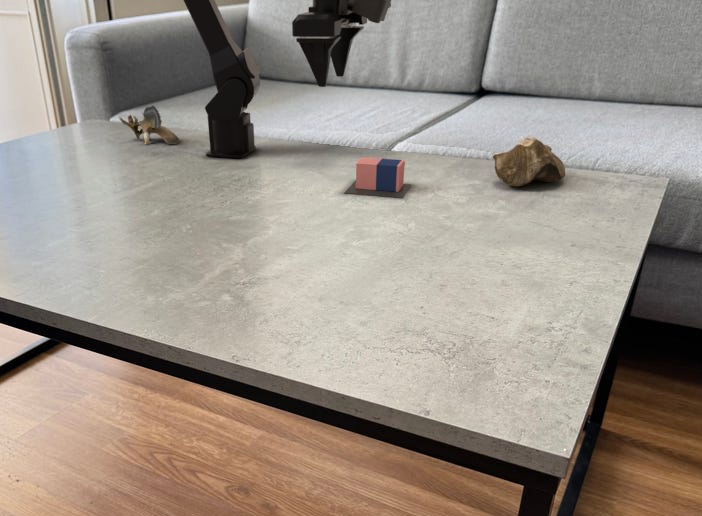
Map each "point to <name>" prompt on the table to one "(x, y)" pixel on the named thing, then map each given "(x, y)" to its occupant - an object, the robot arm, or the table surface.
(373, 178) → the eraser
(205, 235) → the table surface
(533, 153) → the fossilized seashell
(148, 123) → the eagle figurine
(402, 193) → the dark brown rectangular plate
